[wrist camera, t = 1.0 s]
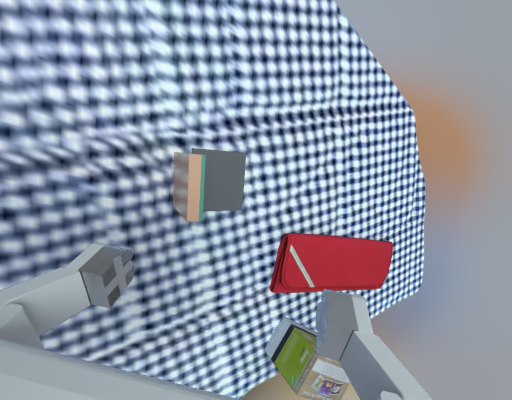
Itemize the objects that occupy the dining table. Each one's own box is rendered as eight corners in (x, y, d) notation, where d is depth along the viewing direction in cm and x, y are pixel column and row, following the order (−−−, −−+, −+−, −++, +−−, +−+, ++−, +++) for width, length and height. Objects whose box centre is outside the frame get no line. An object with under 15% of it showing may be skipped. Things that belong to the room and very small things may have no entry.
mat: (189, 210, 51) (190, 211, 51) (191, 148, 49) (192, 148, 49) (240, 209, 56) (241, 209, 56) (244, 152, 54) (246, 153, 54)
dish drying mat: (375, 287, 84) (385, 293, 81) (267, 290, 64) (275, 298, 61) (387, 240, 82) (398, 244, 79) (281, 228, 63) (290, 233, 60)
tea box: (317, 330, 74) (359, 369, 62) (299, 362, 73) (337, 409, 60) (282, 314, 67) (321, 354, 54) (262, 349, 66) (296, 398, 53)
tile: (172, 205, 50) (186, 221, 39) (174, 152, 48) (189, 153, 38) (185, 205, 51) (202, 220, 40) (187, 153, 49) (205, 155, 39)
